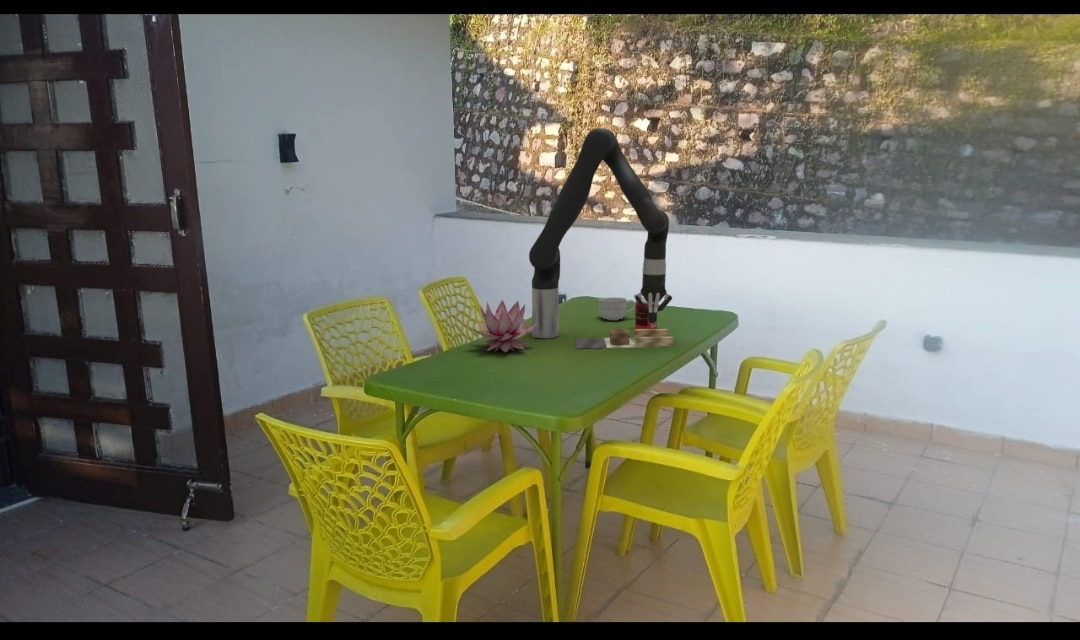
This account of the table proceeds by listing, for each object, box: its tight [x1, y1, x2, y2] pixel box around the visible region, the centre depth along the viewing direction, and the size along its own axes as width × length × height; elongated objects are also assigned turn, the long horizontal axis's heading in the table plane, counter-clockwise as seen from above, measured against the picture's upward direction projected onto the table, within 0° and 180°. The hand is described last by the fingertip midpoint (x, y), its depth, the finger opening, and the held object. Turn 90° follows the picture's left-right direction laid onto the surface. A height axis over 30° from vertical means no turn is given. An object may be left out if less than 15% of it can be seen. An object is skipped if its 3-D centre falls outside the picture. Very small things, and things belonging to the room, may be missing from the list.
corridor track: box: [574, 328, 675, 350], centre depth 272 cm, size 32×13×3 cm, turn 90°
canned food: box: [634, 297, 658, 329], centre depth 289 cm, size 8×8×11 cm
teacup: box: [598, 296, 636, 321], centre depth 306 cm, size 14×11×8 cm
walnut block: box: [609, 328, 630, 345], centre depth 271 cm, size 6×6×4 cm
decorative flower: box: [469, 300, 537, 354], centre depth 265 cm, size 21×21×15 cm
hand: (652, 322), depth 270 cm, fingers closed
